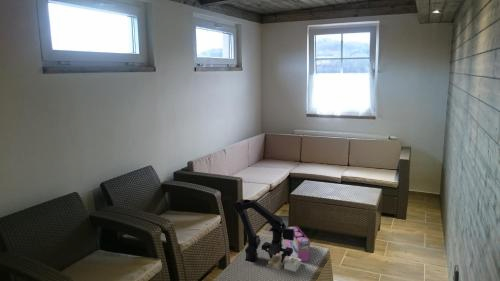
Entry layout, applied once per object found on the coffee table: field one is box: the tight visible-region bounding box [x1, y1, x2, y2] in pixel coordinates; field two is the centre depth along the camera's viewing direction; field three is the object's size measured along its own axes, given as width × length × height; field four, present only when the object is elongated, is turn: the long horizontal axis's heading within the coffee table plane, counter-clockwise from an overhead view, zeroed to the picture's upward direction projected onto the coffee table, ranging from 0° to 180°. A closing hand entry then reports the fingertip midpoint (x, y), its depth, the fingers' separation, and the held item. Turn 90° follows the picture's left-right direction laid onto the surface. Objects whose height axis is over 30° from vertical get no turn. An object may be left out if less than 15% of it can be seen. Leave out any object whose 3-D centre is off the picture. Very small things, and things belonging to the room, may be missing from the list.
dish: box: [283, 256, 302, 272], centre depth 224 cm, size 7×10×4 cm
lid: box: [267, 253, 286, 269], centre depth 228 cm, size 6×11×3 cm, turn 152°
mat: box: [265, 258, 288, 271], centre depth 228 cm, size 9×13×1 cm
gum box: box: [285, 225, 311, 262], centre depth 241 cm, size 24×8×14 cm, turn 14°
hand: (276, 261), depth 228 cm, fingers closed on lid, 6 cm apart
